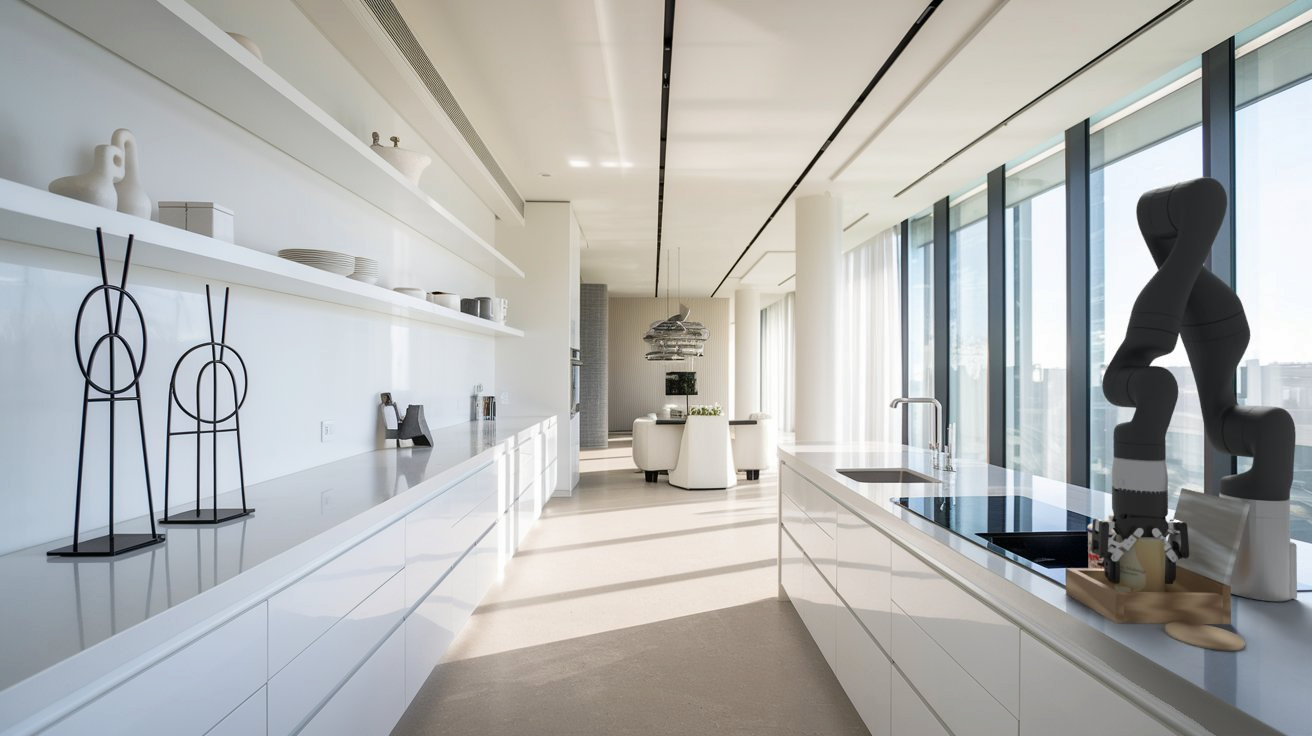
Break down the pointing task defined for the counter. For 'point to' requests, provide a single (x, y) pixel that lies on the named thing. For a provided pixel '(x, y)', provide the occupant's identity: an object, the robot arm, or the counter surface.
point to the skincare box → (1142, 566)
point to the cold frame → (1178, 570)
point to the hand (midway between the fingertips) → (1139, 582)
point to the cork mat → (1204, 636)
